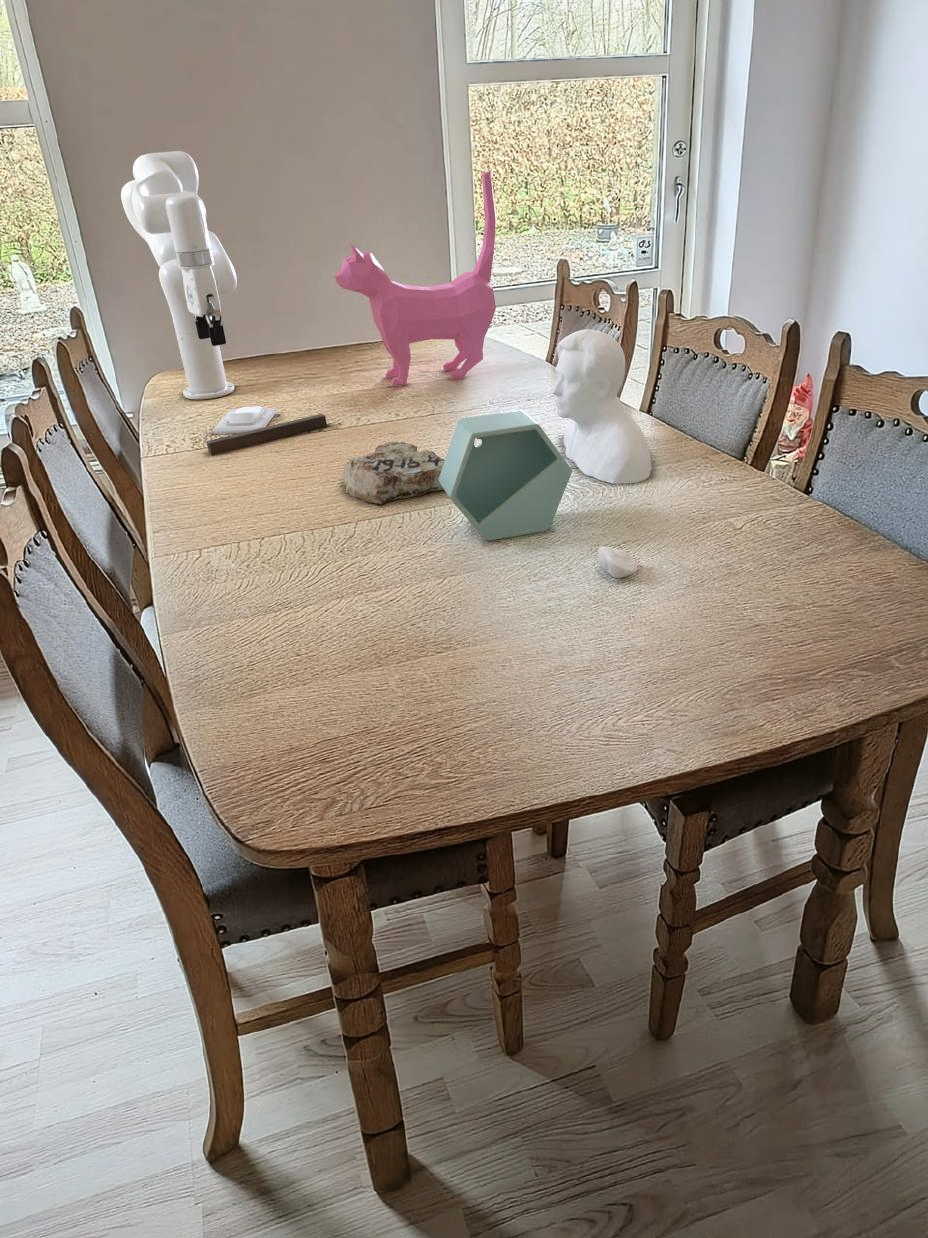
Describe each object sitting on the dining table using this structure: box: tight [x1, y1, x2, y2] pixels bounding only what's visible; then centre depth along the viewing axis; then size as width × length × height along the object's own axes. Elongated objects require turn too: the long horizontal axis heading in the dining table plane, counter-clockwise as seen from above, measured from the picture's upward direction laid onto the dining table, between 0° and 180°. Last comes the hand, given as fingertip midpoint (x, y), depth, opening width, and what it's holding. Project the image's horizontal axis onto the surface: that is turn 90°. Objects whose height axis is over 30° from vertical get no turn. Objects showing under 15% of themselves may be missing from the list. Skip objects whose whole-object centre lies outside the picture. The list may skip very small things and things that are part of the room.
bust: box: [551, 328, 653, 485], centre depth 155 cm, size 28×19×24 cm
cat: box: [334, 170, 497, 387], centre depth 205 cm, size 13×39×45 cm, turn 104°
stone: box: [343, 441, 445, 505], centre depth 157 cm, size 19×6×25 cm
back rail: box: [205, 413, 328, 456], centre depth 182 cm, size 2×26×2 cm, turn 123°
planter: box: [438, 409, 573, 542], centre depth 133 cm, size 17×8×21 cm
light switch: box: [212, 406, 278, 435], centre depth 192 cm, size 11×4×13 cm
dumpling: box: [597, 545, 642, 579], centre depth 121 cm, size 7×5×4 cm
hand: (212, 341), depth 194 cm, fingers open, 8 cm apart
